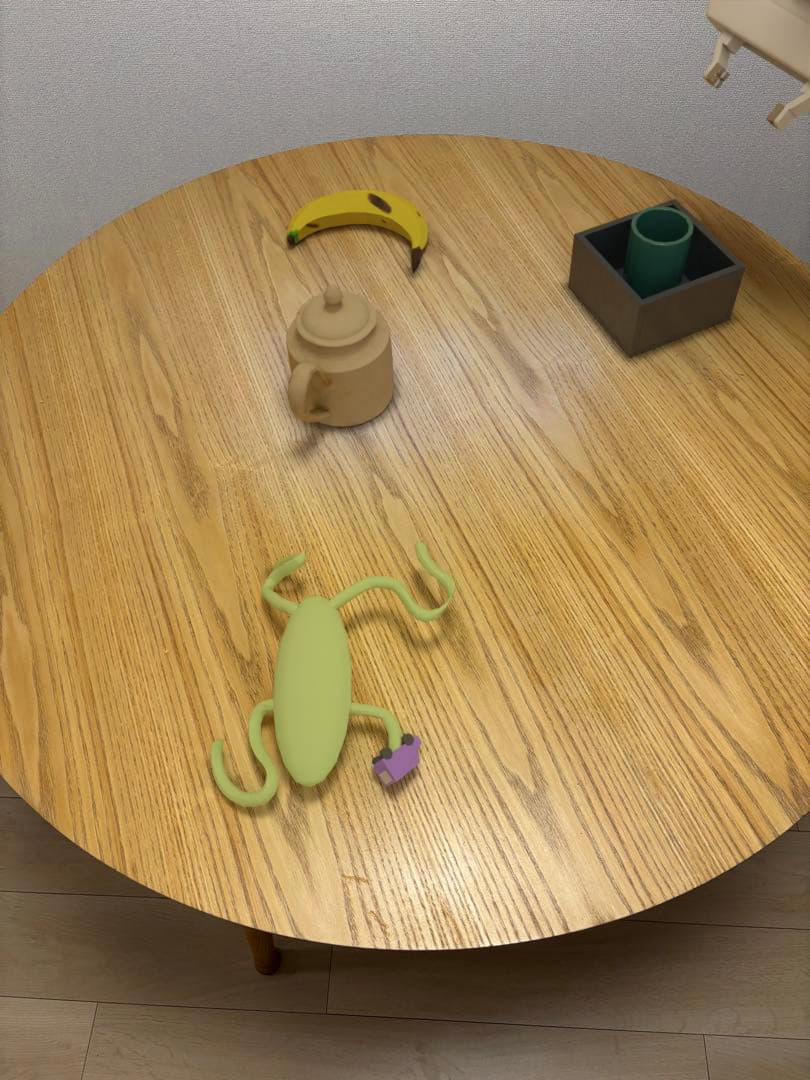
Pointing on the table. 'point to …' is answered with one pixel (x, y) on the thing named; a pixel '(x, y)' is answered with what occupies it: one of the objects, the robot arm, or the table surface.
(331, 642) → the figurine
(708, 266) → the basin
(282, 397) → the table surface
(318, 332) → the sugar bowl
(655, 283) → the cup
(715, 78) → the robot arm
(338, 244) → the table surface
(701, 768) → the table surface
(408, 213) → the banana
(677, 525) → the table surface
